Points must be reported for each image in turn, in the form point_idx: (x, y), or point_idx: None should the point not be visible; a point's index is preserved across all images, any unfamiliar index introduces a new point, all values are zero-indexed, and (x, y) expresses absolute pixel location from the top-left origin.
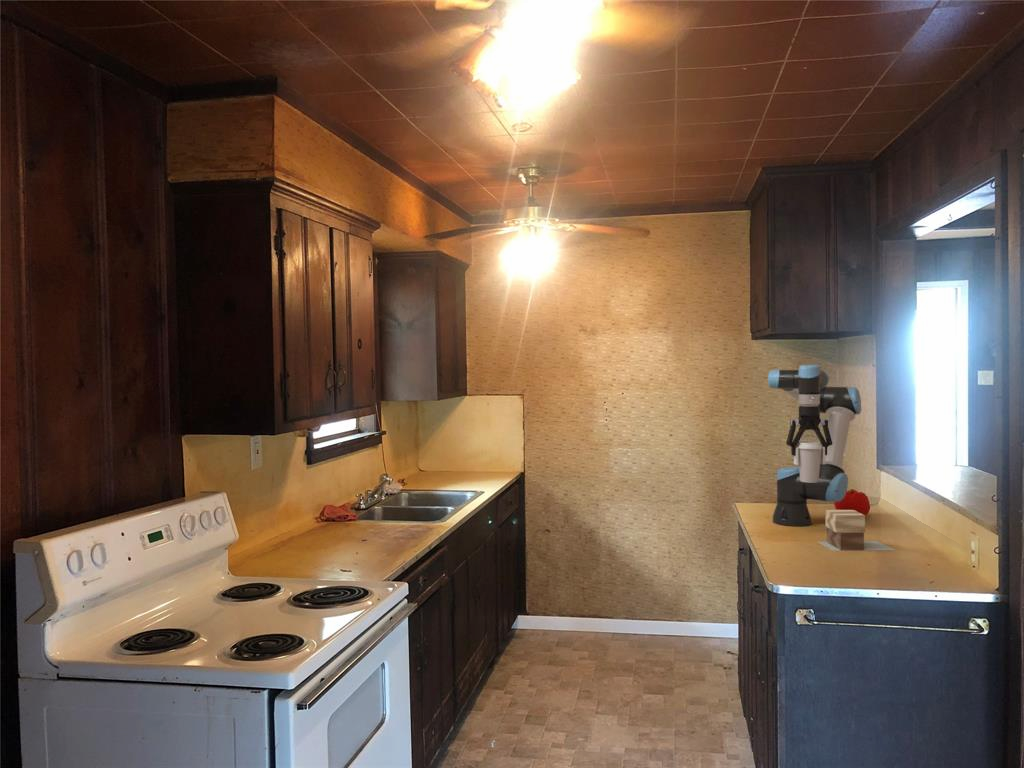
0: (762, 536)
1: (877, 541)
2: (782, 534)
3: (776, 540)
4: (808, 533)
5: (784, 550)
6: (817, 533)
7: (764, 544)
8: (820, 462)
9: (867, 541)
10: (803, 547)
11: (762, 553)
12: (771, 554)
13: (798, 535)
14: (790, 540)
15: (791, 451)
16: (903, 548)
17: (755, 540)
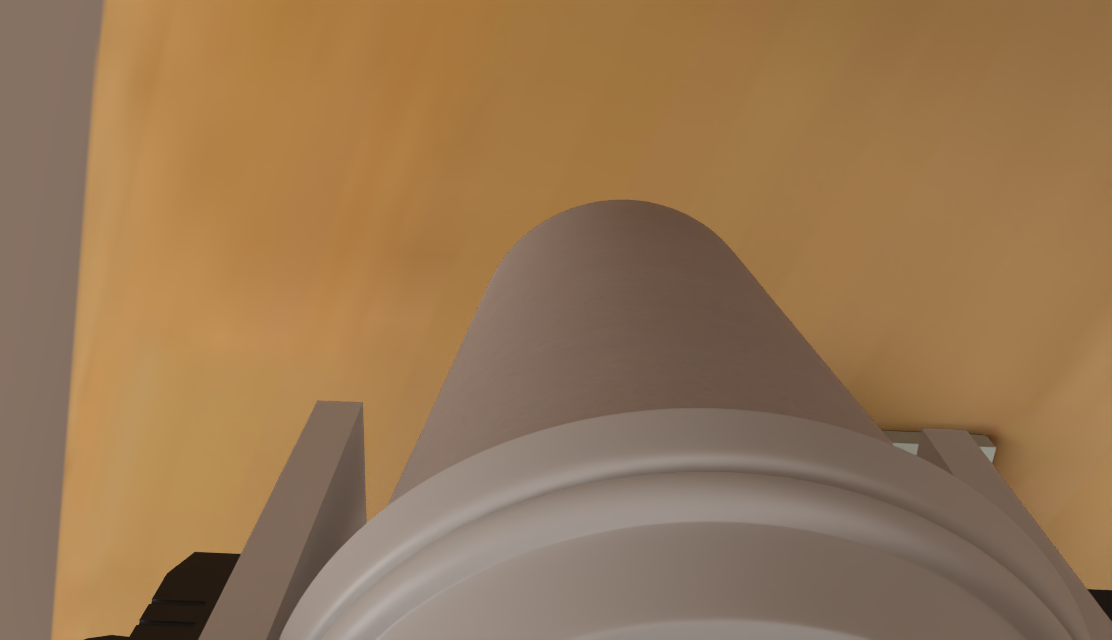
0: (179, 94)
1: (989, 455)
2: (386, 27)
3: (261, 250)
4: (647, 4)
5: (232, 536)
6: (731, 11)
7: (130, 368)
8: (926, 459)
9: (915, 448)
10: (396, 471)
11: (61, 594)
12: (115, 619)
13: (518, 81)
14: (377, 258)
15: (139, 633)
16: (1087, 544)
17: (85, 236)
